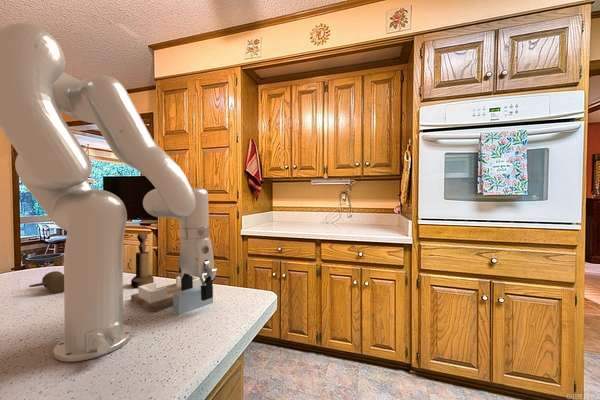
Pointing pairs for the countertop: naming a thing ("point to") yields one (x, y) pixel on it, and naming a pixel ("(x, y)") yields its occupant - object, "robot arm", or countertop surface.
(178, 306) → the light blue rectangular block
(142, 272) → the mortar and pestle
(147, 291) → the end caps
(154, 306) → the board
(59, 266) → the countertop surface
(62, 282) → the kendama
